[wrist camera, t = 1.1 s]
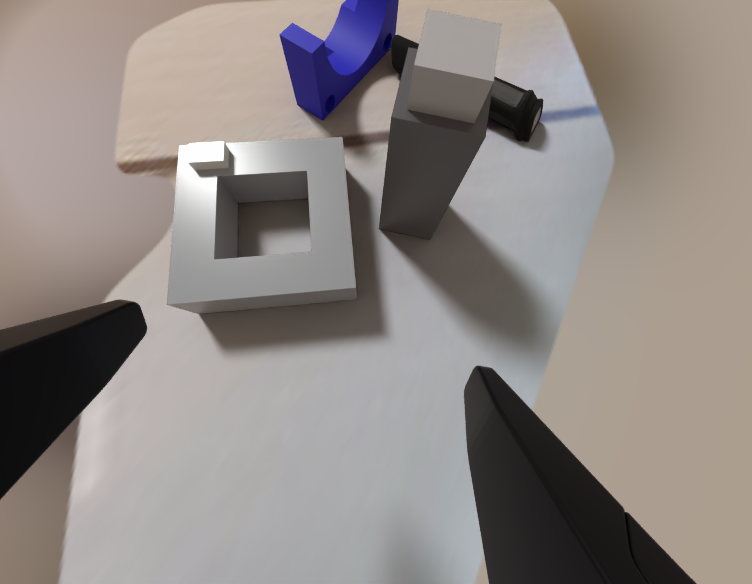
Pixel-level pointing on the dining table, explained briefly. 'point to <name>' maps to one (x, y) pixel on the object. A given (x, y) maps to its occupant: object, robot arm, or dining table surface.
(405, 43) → the electric trimmer
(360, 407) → the dining table surface
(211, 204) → the socket
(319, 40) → the cable clip
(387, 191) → the plug
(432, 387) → the dining table surface
